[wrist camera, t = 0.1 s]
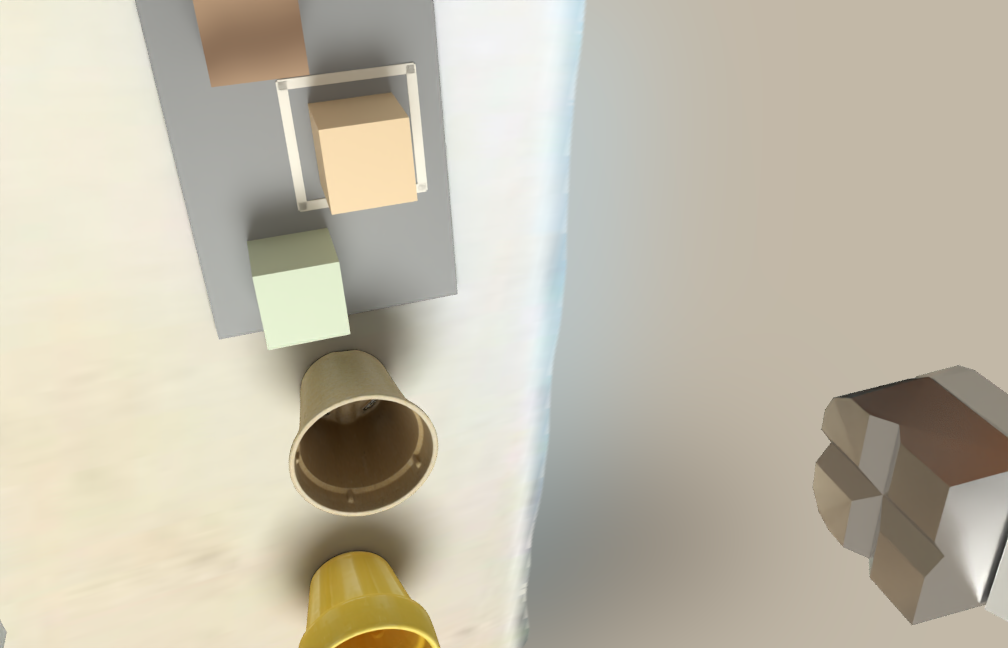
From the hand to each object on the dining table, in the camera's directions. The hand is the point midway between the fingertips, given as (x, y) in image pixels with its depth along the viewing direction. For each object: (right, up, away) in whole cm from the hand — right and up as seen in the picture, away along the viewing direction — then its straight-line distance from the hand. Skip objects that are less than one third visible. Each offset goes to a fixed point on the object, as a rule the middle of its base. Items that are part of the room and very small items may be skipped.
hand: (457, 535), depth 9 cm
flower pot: (-11, -2, +56) cm, 57 cm away
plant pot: (-12, -19, +65) cm, 69 cm away
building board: (-11, +13, +46) cm, 49 cm away
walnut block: (-14, +19, +41) cm, 47 cm away
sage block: (-13, +5, +49) cm, 51 cm away
